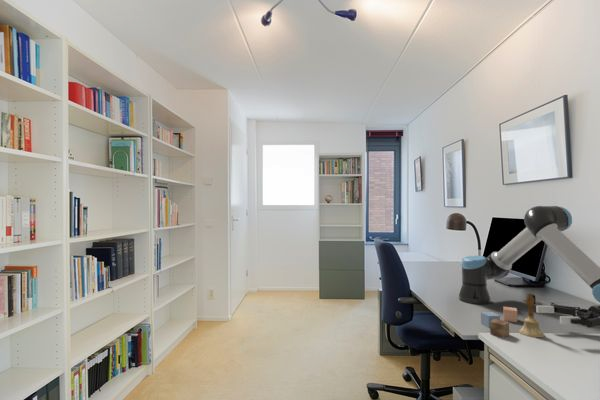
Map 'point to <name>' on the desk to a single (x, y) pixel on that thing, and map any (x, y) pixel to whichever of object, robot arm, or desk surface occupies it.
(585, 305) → the desk surface
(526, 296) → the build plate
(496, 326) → the walnut block
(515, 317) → the terracotta block
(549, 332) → the desk surface
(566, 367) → the desk surface
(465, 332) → the desk surface
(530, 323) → the hand bell
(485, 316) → the slate-blue block
